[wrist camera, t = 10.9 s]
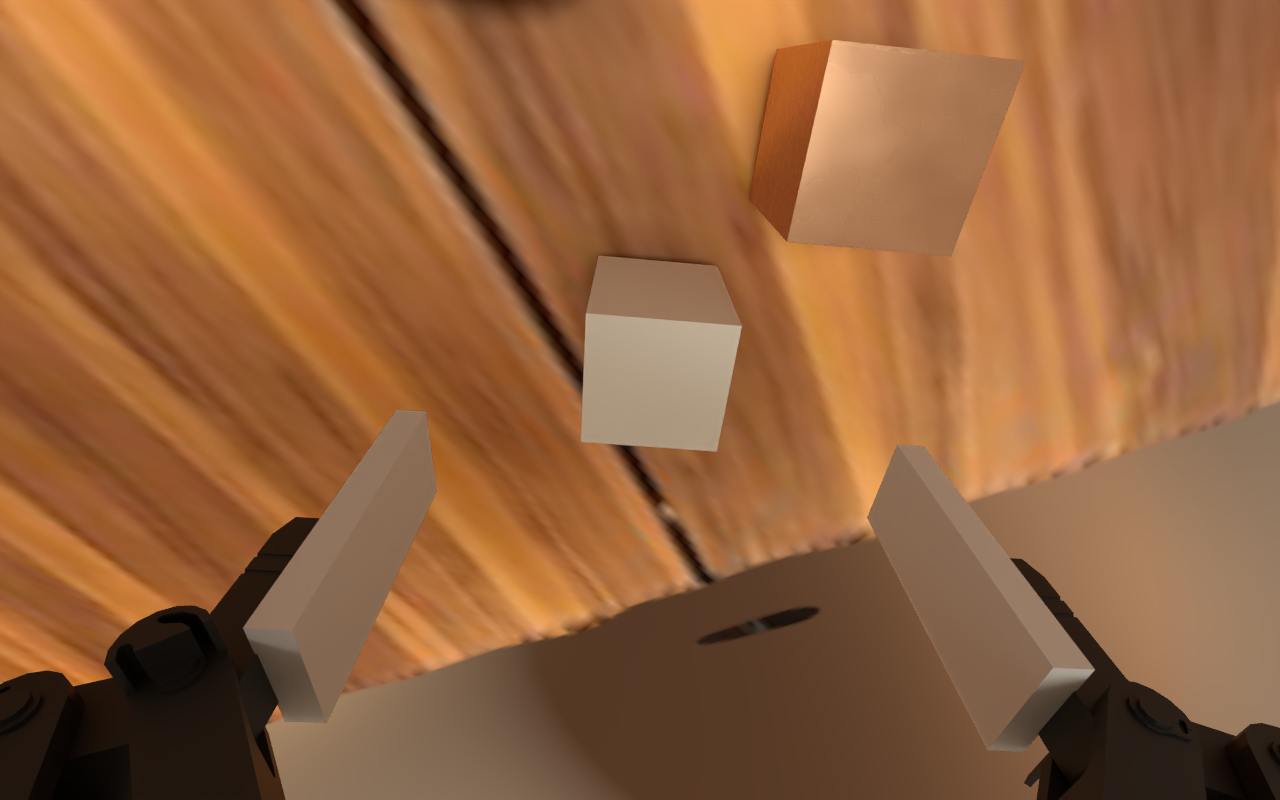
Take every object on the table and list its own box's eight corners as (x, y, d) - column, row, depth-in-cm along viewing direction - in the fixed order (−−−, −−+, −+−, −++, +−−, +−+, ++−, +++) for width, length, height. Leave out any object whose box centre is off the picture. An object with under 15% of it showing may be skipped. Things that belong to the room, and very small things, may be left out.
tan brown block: (745, 194, 23) (786, 241, 17) (771, 50, 21) (832, 40, 14) (864, 205, 24) (950, 256, 17) (905, 64, 21) (1026, 60, 14)
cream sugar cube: (593, 362, 26) (580, 442, 21) (598, 255, 24) (585, 313, 18) (700, 370, 26) (716, 451, 21) (717, 265, 24) (741, 325, 18)
